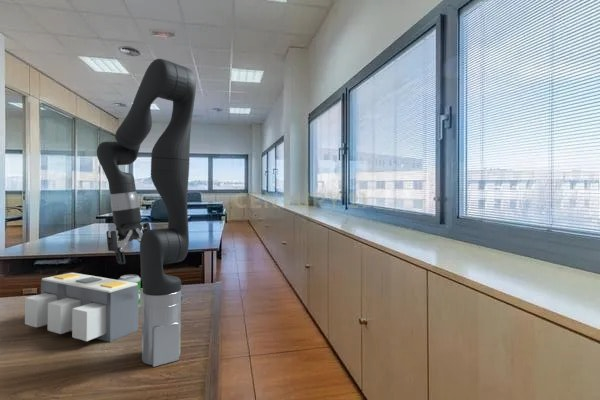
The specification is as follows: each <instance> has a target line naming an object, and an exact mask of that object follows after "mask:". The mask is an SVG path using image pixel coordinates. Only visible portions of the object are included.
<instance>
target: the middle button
mask: <svg viewBox="0 0 600 400" xmlns="http://www.w3.org/2000/svg"><path fill="white" fill-rule="evenodd" d="M80 306H81V299H77V298H72V297H69V298H65V299H61V300H57V301H53V302H50V303H48V325H47V331H48V332H52V333H55V334H59V335H62V334H65V333H68V332H71V330H72V309H73V308H76V307H80Z"/></svg>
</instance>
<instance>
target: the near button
mask: <svg viewBox="0 0 600 400" xmlns="http://www.w3.org/2000/svg"><path fill="white" fill-rule="evenodd" d="M106 325H107V305H105V304H101V303H96V302H93V303H90V304H86V305H83V306H80V307H76V308H73V309H72V332H71V333H72V335H71V337H72V338H74V339H77V340H80V341H81V340H82V341H84V342H89V341H91V340H94V339H97V338H96V337H99V336H101V335H104V334H106Z"/></svg>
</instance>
